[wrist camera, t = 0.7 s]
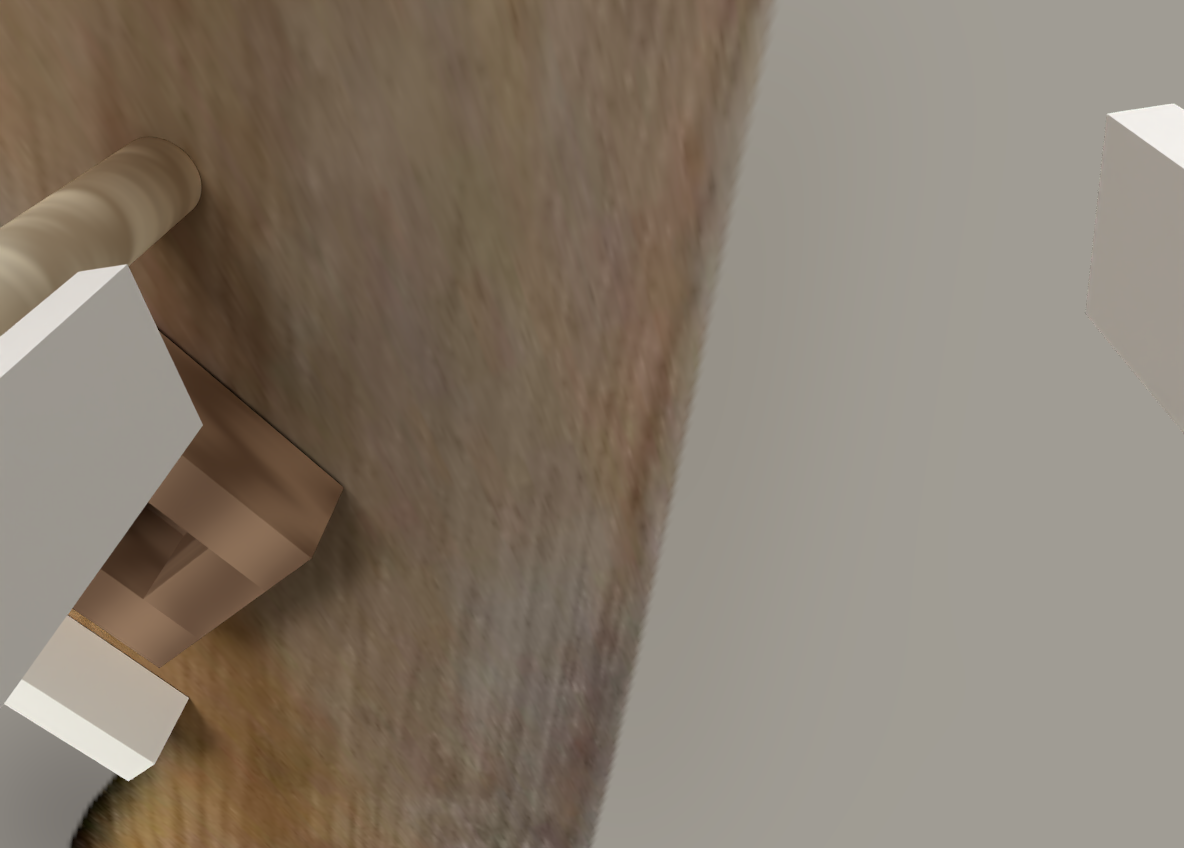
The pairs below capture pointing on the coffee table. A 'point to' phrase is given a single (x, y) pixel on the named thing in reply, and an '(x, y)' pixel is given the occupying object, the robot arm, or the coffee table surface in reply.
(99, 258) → the dowel
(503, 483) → the coffee table surface
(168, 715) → the wall
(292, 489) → the block
